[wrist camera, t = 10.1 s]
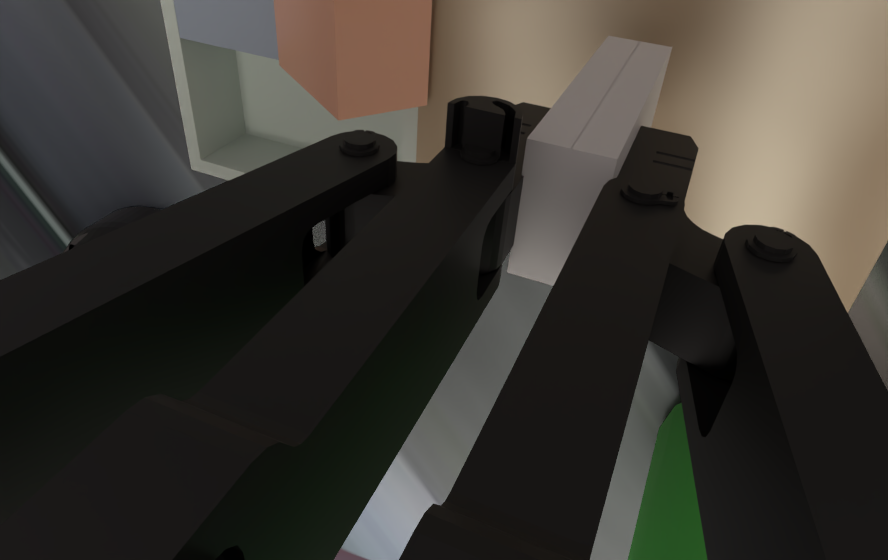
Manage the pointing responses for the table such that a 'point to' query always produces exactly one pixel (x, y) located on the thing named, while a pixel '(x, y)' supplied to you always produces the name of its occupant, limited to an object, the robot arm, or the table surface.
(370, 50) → the tile terracotta
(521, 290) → the table surface
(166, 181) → the table surface
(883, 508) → the robot arm
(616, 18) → the bench plate
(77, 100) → the table surface
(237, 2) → the tile slate
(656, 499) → the bottle
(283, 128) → the box
